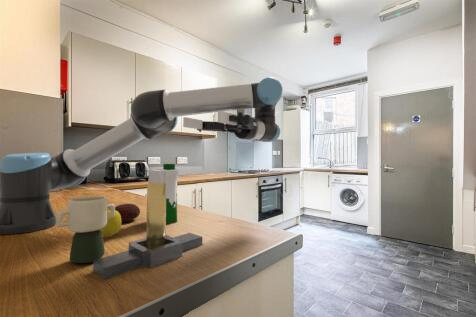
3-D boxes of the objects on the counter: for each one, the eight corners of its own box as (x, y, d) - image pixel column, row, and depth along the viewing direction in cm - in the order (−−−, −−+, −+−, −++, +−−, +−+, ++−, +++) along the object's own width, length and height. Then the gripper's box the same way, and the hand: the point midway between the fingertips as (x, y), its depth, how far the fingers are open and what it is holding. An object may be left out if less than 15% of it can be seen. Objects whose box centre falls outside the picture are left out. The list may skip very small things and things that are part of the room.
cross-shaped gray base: (89, 268, 46) (89, 252, 46) (184, 238, 64) (184, 227, 64) (108, 283, 40) (109, 265, 40) (207, 246, 58) (207, 234, 58)
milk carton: (180, 221, 82) (181, 164, 82) (155, 226, 76) (155, 164, 76) (169, 217, 88) (170, 163, 89) (145, 221, 82) (145, 163, 82)
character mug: (107, 248, 56) (108, 194, 57) (121, 256, 52) (121, 197, 52) (50, 263, 48) (51, 199, 48) (60, 274, 43) (61, 203, 44)
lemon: (111, 241, 62) (112, 210, 62) (93, 240, 63) (93, 209, 63) (125, 235, 67) (126, 206, 67) (108, 233, 68) (109, 205, 68)
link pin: (142, 256, 52) (143, 183, 52) (158, 251, 55) (159, 182, 55) (152, 261, 49) (153, 184, 49) (168, 255, 52) (170, 183, 53)
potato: (105, 223, 80) (106, 204, 80) (133, 217, 88) (133, 200, 88) (118, 226, 76) (118, 207, 76) (145, 219, 85) (145, 202, 85)
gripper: (281, 137, 71) (236, 129, 54) (221, 141, 87) (172, 136, 70) (281, 112, 71) (236, 97, 54) (221, 121, 87) (172, 111, 70)
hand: (200, 119), depth 62 cm, fingers open, 13 cm apart
